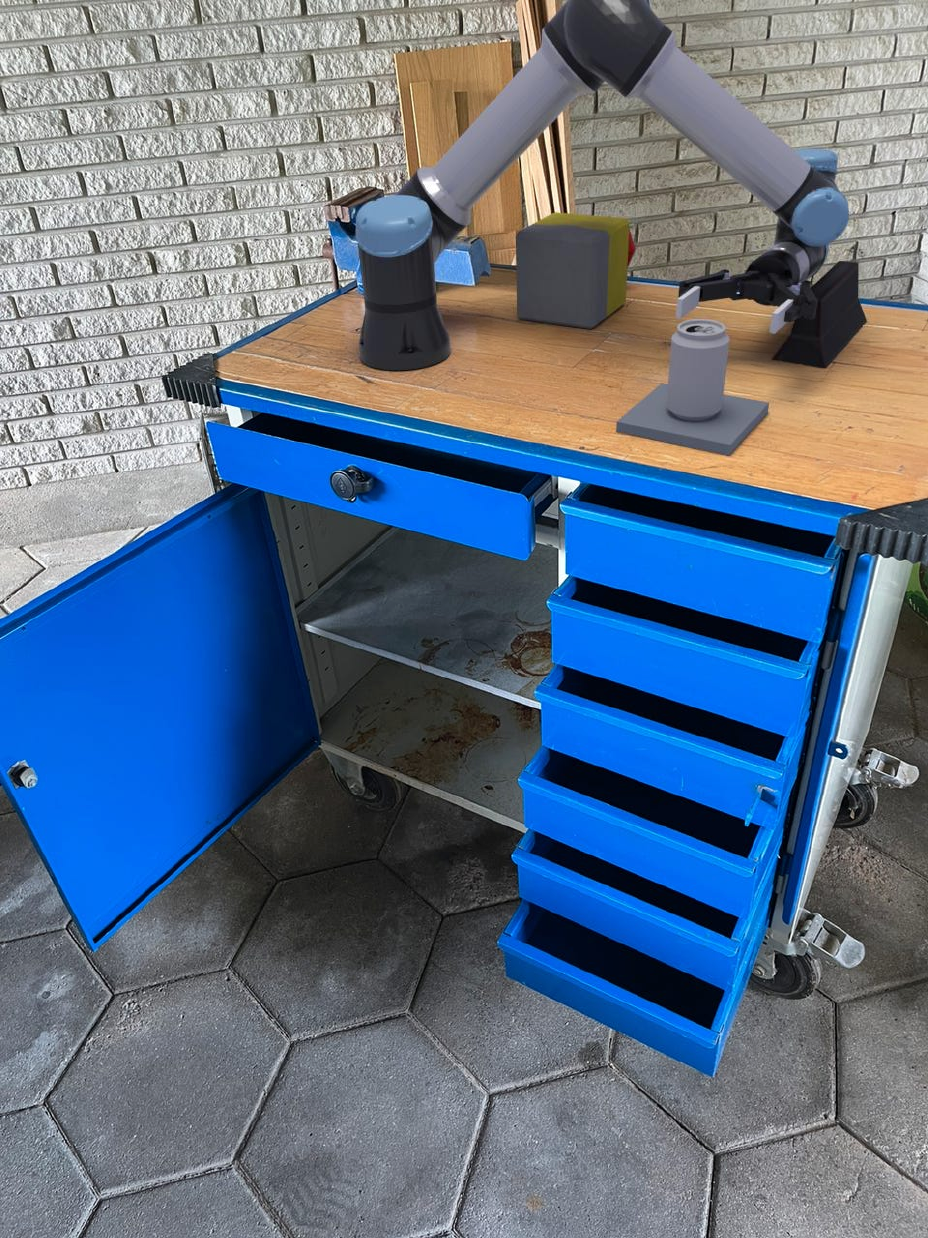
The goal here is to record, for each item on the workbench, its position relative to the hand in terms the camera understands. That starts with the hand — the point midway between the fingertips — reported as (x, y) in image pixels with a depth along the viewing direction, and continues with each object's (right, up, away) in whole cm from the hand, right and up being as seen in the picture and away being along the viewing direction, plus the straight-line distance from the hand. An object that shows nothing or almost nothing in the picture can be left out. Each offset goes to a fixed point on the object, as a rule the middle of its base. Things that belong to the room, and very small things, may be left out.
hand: (725, 315), depth 133 cm
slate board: (-4, -15, 0) cm, 15 cm away
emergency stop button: (-14, +15, +43) cm, 48 cm away
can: (-5, -14, -1) cm, 14 cm away
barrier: (+22, +3, +23) cm, 32 cm away
